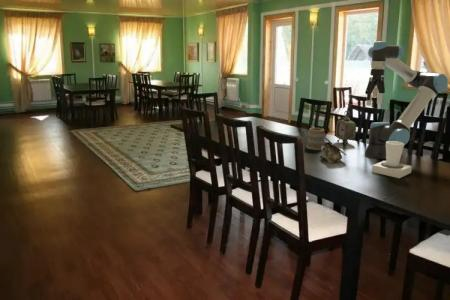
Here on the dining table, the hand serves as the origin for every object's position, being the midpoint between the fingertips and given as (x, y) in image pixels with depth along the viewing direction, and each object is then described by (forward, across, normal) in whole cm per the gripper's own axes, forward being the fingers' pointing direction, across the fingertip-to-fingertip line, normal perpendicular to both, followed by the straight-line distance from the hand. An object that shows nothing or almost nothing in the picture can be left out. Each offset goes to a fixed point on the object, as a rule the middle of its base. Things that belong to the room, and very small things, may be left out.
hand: (373, 104), depth 235 cm
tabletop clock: (+37, +42, +40) cm, 69 cm away
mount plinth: (+37, -7, -18) cm, 41 cm away
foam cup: (+32, -7, -18) cm, 38 cm away
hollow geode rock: (+37, -6, +22) cm, 43 cm away
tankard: (+37, +14, +48) cm, 62 cm away
